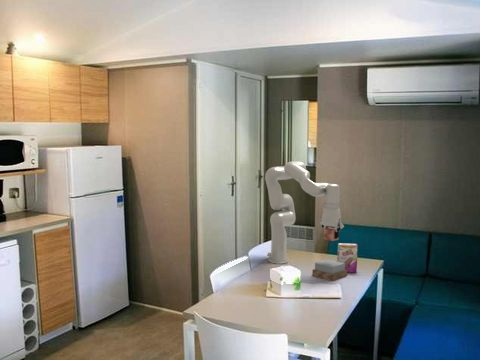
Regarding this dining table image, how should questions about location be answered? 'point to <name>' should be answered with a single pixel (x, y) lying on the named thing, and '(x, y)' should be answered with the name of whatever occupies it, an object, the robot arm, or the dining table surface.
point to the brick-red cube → (329, 234)
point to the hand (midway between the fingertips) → (331, 237)
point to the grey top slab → (330, 266)
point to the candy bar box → (348, 256)
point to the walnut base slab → (329, 275)
